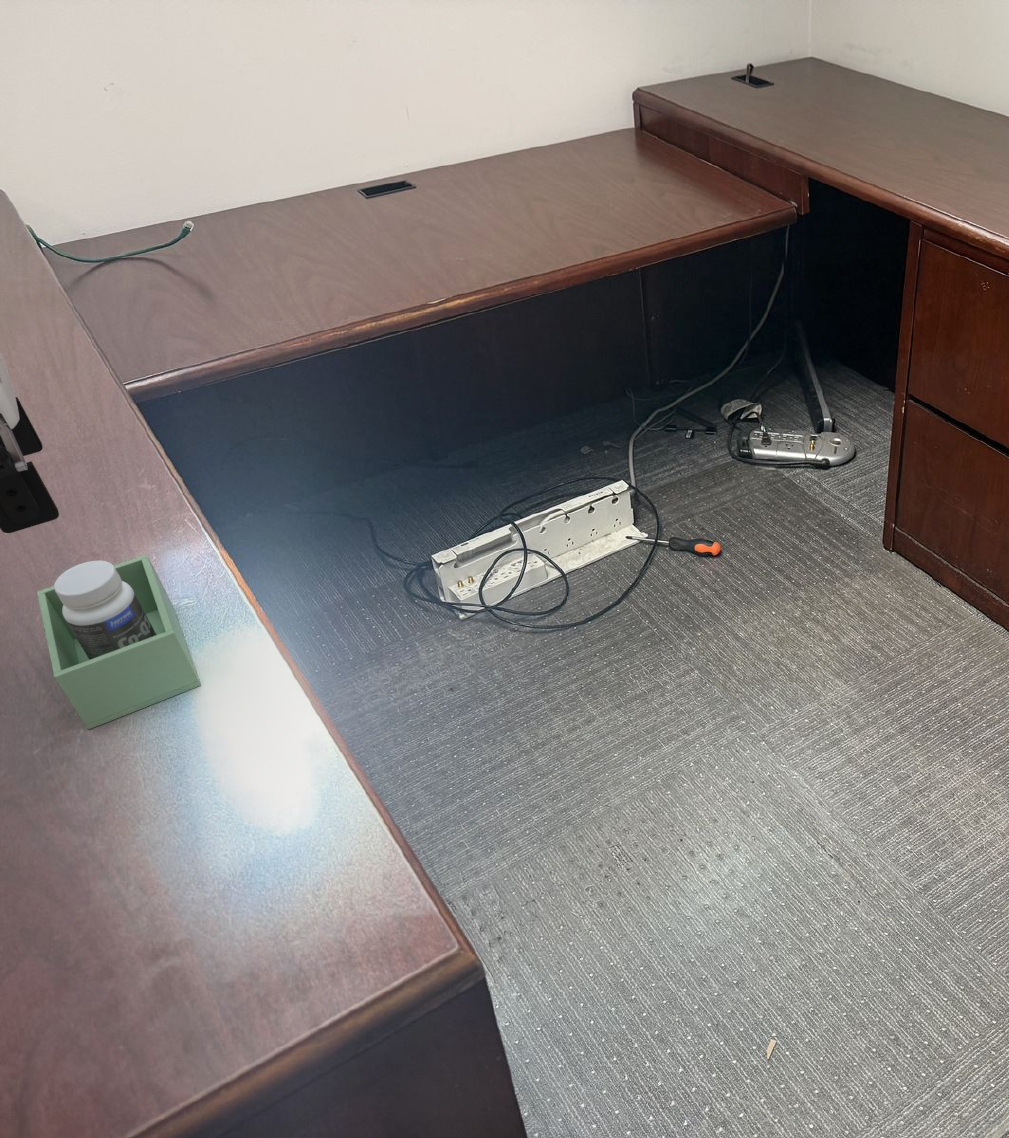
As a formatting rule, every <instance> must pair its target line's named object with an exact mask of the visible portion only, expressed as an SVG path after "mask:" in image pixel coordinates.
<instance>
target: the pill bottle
mask: <svg viewBox="0 0 1009 1138" xmlns="http://www.w3.org/2000/svg"><path fill="white" fill-rule="evenodd" d="M53 586H54V589H55V592H56V593H57V595H58V597H59V599H60V600H61V602H62V603H63V608H62V613H63V616H64V618H65V620H66V622H67V623H68V625H69V627H70V628H71V630H72V632H73V633H74V635H75V637H76V638H77V640H78V642H79V643H80V645H81V647H82V648H83V650H84V652H85V653H86V655H87V657H88V658H89V660H91V659H94V658H96V657H99V656H102V655H104V654H107V653H110V652H112V651H115V650H118V649H121V648H123V647H126V646H129V645H131V644H134V643H137V642H140V641H142V640H145V639H148V638H150V637H153V636H156V633H155V631H154V629H153V627H152V625H151V623H150V622H149V619H148V617H147V616H146V614H145V612H144V610H143V608H142V606H141V604H140V603H139V600H138V599H137V597H136V595H135V593H134V591H133V589H132V588H131V586H130V585H129V584H127V583H126V582H124V581H122V580H121V578H120V576H119V574H118V573H117V571H116V569H115V567H114V565H113V564H112V563H111V562H110V561H109V562H108V561H107V560H106V561H105V560H91V561H86V562H82V563H79V564H76V565H74V566H72V567H70V568H69V569H66V570H65V571H64V572H63V573H61V574H60V575H59V576H58V577H57V579H56V580H55V582H54V584H53Z"/></svg>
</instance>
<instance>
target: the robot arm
mask: <svg viewBox="0 0 1009 1138" xmlns="http://www.w3.org/2000/svg"><path fill="white" fill-rule="evenodd" d="M9 371H10V370H9V369H8V366H7V362H6V360H5V358H4V355H3V353H2V351H1V349H0V530H1V532H2V533H4V534H12V533H16V532H19V531H22V530H25V529H28V528H32V527H35V526H38V525H42V524H46V523H48V522H52V521H55V520H57V519H58V518H59V517H60V512H59V509H58V507H57V505H56V503H55V501H54V500H53V498H52V495H51V494H50V492H49V491H48V488H47V487H46V485H45V483H44V480H43V479H42V477H41V476H40V474H39V472H38V470H37V468H36V466H35V465H34V462H33V461H32V460H31V461H28V462H26V459H25V457H26V456H29V455H33V454H36V453H40V452H41V451H42V450H43V448H44V446H43V443H42V441H41V438H40V437H39V435H38V433H37V431H36V429H35V428H34V425H33V424H32V422H31V420H30V418H29V416H28V414H27V412H26V410H25V408H24V407H23V405H22V403H21V401H20V399H19V397H18V396H16V392H15V388H14V385H13V381H12V377H11V374H10V372H9Z"/></svg>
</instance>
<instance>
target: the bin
mask: <svg viewBox="0 0 1009 1138" xmlns="http://www.w3.org/2000/svg"><path fill="white" fill-rule="evenodd" d="M113 566H114V567H115V569H116V571H117V573H118V574H119V576H120V578H121V580H122V581H124V582H126V583H127V584H129V585H130V586H131V588H132V589H133V591H134V593H135V595H136V597H137V599H138V600H139V603H140V604H141V606H142V608H143V610H144V612H145V614H146V616H147V617H148V619H149V622H150V623H151V625H152V627H153V629H154V631H155V633H156V636H153V637H150V638H148V639H145V640H142V641H140V642H137V643H134V644H131V645H129V646H126V647H123V648H121V649H118V650H115V651H112V652H110V653H107V654H104V655H102V656H99V657H96V658H94V659H91V660H89V658H88V657H87V655H86V653H85V652H84V650H83V648H82V647H81V645H80V643H79V642H78V640H77V638H76V637H75V635H74V633H73V632H72V630H71V628H70V627H69V625H68V623H67V622H66V620H65V618H64V616H63V613H62V608H63V603H62V602H61V600H60V599H59V597H58V595H57V593H56V592H55V589H54V585H51V586H49V587H45V588H43V589H41V590H37V591H36V594H37V599H38V604H39V609H40V613H41V619H42V624H43V630H44V633H45V634H44V635H45V639H46V643H47V648H48V653H49V659H50V663H51V668H52V673H53V678H54V679H55V681H56V682H57V684H58V686H59V687H60V689H61V690H62V691H63V693H64V695H65V696H66V698H67V699H68V701H69V702H70V704H71V705H72V707H73V709H74V710H75V712H76V713H77V714H78V716H79V718H80V719H81V721H82V722H83V724H84V725H85V727H86V728H87V730H91V729H94V728H97V727H99V726H101V725H104V724H106V723H109V722H111V721H114V720H117V719H119V718H122V717H124V716H127V715H129V714H132V713H135V712H136V711H139V710H142V709H144V708H147V707H149V706H152V705H155V704H157V703H159V702H162V701H165V700H167V699H170V698H172V697H175V696H177V695H180V694H182V693H185V692H188V691H190V690H193V689H195V688H198V687H200V686H201V685H202V683H201V680H200V677H199V674H198V671H197V669H196V666H195V663H194V660H193V657H192V654H191V651H190V649H189V647H188V643H187V640H186V637H185V635H184V632H183V629H182V626H181V624H180V620H179V618H178V615H177V612H176V609H175V607H174V604H173V602H172V600H171V598H170V596H169V594H168V592H167V591H166V588H165V587H164V584H163V583H162V581H161V579H160V577H159V575H158V573H157V570H156V569H155V568H154V565H153V563H152V561H151V560H150V557H149V556H148V554H145V555H141V556H138V557H136V558H135V557H134V558H132V559H130V560H125V561H123V562H120V563H116V564H115V565H113Z"/></svg>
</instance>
